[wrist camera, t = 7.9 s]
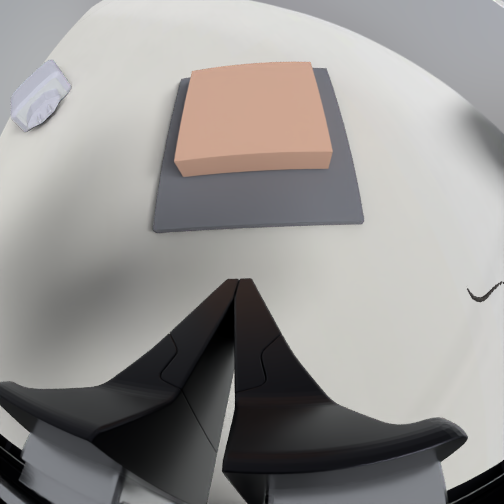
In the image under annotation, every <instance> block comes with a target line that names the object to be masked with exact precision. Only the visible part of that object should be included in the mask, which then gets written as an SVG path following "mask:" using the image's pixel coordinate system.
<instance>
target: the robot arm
mask: <svg viewBox="0 0 504 504" xmlns="http://www.w3.org/2000/svg"><path fill="white" fill-rule="evenodd" d="M233 373H234V374H235V410H234V415H233V419H232V424H231V428H230V432H229V437H228V441H227V445H226V450H225V454H224V458H223V465H222V472H223V474H224V475H225V476H226V478H227V479H228V480H229V481H230V483H231V484H232V485H233V487H234V488H235V489H236V490H237V492H238V493H239V494H240V495H241V496H242V498H243V499H244V500H245V501H246V502H247V504H504V460H503V461H502V462H500V463H499V464H497V465H495V466H494V467H492V468H490V469H489V470H487V471H485V472H483V473H482V474H480V475H478V476H476V477H474V478H472V479H471V480H469V481H467V482H465V483H463V484H461V485H458V486H456V487H454V488H452V489H450V490H448V491H447V490H446V485H445V480H444V475H443V471H442V466H441V461H443V460H444V459H446V458H447V457H448V456H450V455H451V454H452V453H454V452H455V451H456V450H457V449H459V448H460V447H461V446H462V445H463V444H464V443H465V442H466V441H467V439H468V436H467V434H466V433H465V432H464V430H463V429H461V427H459V426H458V425H456V424H455V423H453V422H451V421H449V420H446V419H444V418H440V417H437V418H430V419H426V420H423V421H419V422H416V423H411V424H401V425H397V424H389V423H385V422H382V421H379V420H376V419H374V418H371V417H368V416H366V415H363V414H360V413H358V412H355V411H353V410H350V409H348V408H346V407H343V406H341V405H339V404H337V403H336V402H334V401H333V400H332V399H330V398H329V397H328V396H327V395H326V393H325V392H324V391H323V390H322V389H321V388H320V386H319V385H318V384H317V383H316V382H315V380H314V379H313V378H312V377H311V375H310V374H309V373H308V372H307V371H306V369H305V368H304V367H303V366H302V364H301V363H300V362H299V360H298V359H297V358H296V356H295V355H294V354H293V352H292V350H291V349H290V347H289V345H288V344H287V342H286V340H285V338H284V337H283V335H282V333H281V331H280V330H279V328H278V326H277V324H276V322H275V321H274V319H273V317H272V315H271V313H270V311H269V310H268V308H267V306H266V304H265V302H264V300H263V299H262V297H261V295H260V293H259V291H258V289H257V287H256V286H255V284H254V282H253V280H252V279H251V278H246V279H240V280H239V279H227V280H226V281H225V282H223V283H222V284H221V285H220V286H219V287H218V288H217V289H216V290H215V291H214V292H213V293H212V294H211V295H210V296H208V297H207V298H206V299H205V300H204V301H203V302H202V303H201V304H200V305H199V306H198V307H197V308H196V309H195V310H193V311H192V312H191V313H190V314H189V315H188V316H187V317H186V318H185V319H184V320H183V321H182V322H181V323H180V324H178V325H177V326H176V327H175V328H174V329H173V330H172V331H171V332H170V334H168V335H167V336H165V337H164V338H163V339H162V340H161V341H160V342H159V343H158V344H157V345H155V346H154V347H153V348H152V349H151V350H150V351H148V352H147V353H146V354H144V355H143V356H142V357H141V358H139V359H138V360H137V361H135V362H134V363H133V364H131V365H130V366H129V367H127V368H126V369H125V370H123V371H122V372H120V373H119V374H118V375H116V376H115V377H114V378H112V379H111V380H109V381H108V382H106V383H104V384H101V385H99V386H94V387H85V388H66V389H33V388H26V387H23V386H20V385H18V384H16V383H14V382H11V381H8V382H0V405H1V406H2V407H3V408H4V409H5V410H6V411H7V412H8V413H9V414H10V415H11V416H12V417H13V418H14V419H15V420H16V421H17V422H19V423H20V424H21V425H22V426H23V427H24V428H25V429H27V430H28V431H29V432H30V434H29V436H28V438H27V440H26V443H25V445H24V447H23V450H21V449H19V448H18V447H16V446H15V445H14V444H12V443H11V442H10V441H8V440H7V439H6V438H5V437H3V436H2V435H1V434H0V504H207V500H208V495H209V490H210V485H211V481H212V476H213V471H214V466H215V462H216V457H217V454H216V453H217V452H218V447H219V442H220V437H221V432H222V427H223V422H224V417H225V413H226V408H227V403H228V398H229V393H230V388H231V383H232V378H233Z"/></svg>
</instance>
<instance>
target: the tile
mask: <svg viewBox="0 0 504 504" xmlns="http://www.w3.org/2000/svg"><path fill="white" fill-rule="evenodd" d="M332 153H333V150H332V146H331V141H330V136H329V131H328V127H327V123H326V118H325V114H324V110H323V106H322V102H321V98H320V94H319V90H318V87H317V83H316V79H315V76H314V72H313V69H312V65H311V62H269V63H253V64H241V65H232V66H223V67H216V68H209V69H202V70H196V71H192V74H191V78H190V82H189V87H188V91H187V95H186V100H185V105H184V109H183V114H182V119H181V124H180V130H179V135H178V141H177V147H176V153H175V159H174V162H175V164H176V166H177V167H178V169H179V171H180V172H181V174H182V176H183V177H189V176H198V175H208V174H219V173H232V172H246V171H263V170H286V169H328V168H329V164H330V160H331V157H332Z"/></svg>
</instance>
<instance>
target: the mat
mask: <svg viewBox="0 0 504 504" xmlns="http://www.w3.org/2000/svg"><path fill="white" fill-rule="evenodd" d="M312 69H313V72H314V76H315V79H316V83H317V87H318V90H319V94H320V98H321V102H322V106H323V110H324V114H325V118H326V123H327V127H328V131H329V136H330V141H331V146H332V150H333V153H332V157H331V160H330V164H329V168H328V169H286V170H263V171H246V172H232V173H219V174H208V175H198V176H189V177H183V176H182V174H181V172H180V171H179V169H178V167H177V166H176V164H175V162H174V159H175V153H176V147H177V141H178V135H179V130H180V124H181V119H182V114H183V109H184V105H185V100H186V95H187V91H188V87H189V82H190V78H191V77H190V78H184V79H181V82H180V86H179V90H178V94H177V98H176V102H175V106H174V110H173V114H172V119H171V123H170V128H169V132H168V137H167V142H166V147H165V152H164V158H163V163H162V169H161V175H160V181H159V188H158V194H157V201H156V209H155V217H154V225H153V231H155V232H156V233H164V232H179V231H196V230H214V229H233V228H255V227H279V226H308V225H346V224H362V223H363V222H364V216H363V210H362V204H361V198H360V193H359V188H358V183H357V178H356V173H355V168H354V164H353V159H352V155H351V151H350V147H349V142H348V138H347V135H346V131H345V127H344V123H343V120H342V116H341V113H340V109H339V106H338V102H337V99H336V96H335V93H334V90H333V87H332V83H331V80H330V77H329V75H328V72H327V69H326V68H312Z"/></svg>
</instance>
